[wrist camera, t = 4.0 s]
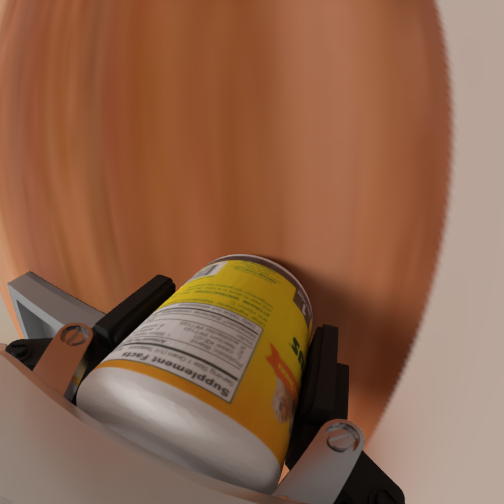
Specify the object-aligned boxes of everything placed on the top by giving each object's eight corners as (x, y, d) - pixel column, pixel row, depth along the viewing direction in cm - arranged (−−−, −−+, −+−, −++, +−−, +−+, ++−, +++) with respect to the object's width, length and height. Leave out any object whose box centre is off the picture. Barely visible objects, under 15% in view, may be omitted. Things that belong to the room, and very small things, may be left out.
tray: (29, 271, 17) (7, 283, 15) (171, 344, 15) (147, 372, 12) (69, 395, 24) (56, 408, 21) (177, 458, 21) (166, 476, 19)
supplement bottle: (293, 370, 13) (226, 570, 4) (189, 332, 14) (64, 489, 5) (334, 272, 11) (286, 576, 2) (203, 231, 12) (-19, 396, 3)
